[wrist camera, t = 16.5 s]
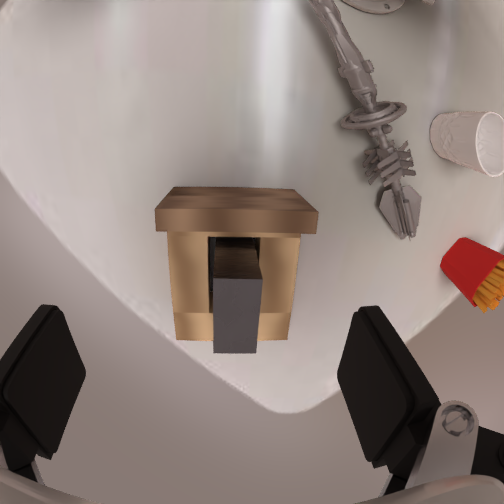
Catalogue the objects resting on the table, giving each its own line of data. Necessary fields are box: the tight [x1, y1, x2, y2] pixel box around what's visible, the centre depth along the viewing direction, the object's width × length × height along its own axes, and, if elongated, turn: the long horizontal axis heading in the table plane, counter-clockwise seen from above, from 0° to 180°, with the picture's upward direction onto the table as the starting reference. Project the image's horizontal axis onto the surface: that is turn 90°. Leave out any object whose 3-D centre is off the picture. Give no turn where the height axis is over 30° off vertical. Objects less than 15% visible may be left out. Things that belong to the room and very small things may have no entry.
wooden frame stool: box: [155, 187, 318, 341], centre depth 33 cm, size 14×18×10 cm
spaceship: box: [308, 0, 421, 239], centre depth 28 cm, size 8×35×8 cm
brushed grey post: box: [213, 237, 263, 353], centre depth 32 cm, size 4×8×13 cm, turn 176°
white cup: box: [430, 111, 504, 177], centre depth 28 cm, size 8×8×10 cm
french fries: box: [440, 237, 504, 313], centre depth 35 cm, size 9×4×13 cm, turn 136°
